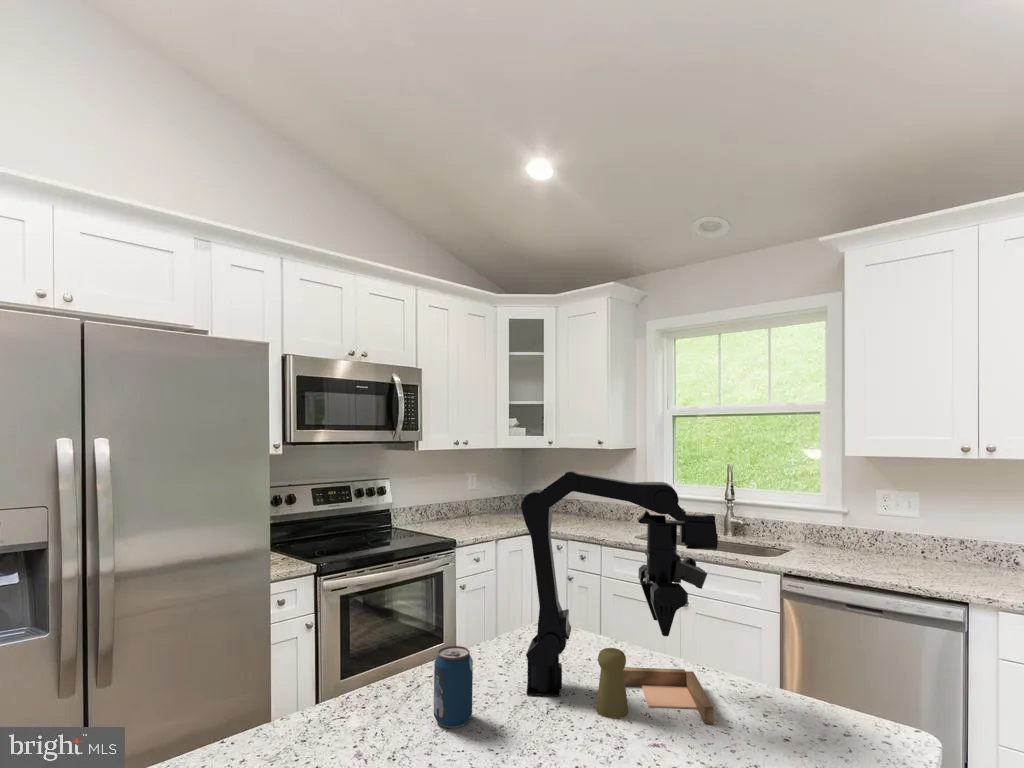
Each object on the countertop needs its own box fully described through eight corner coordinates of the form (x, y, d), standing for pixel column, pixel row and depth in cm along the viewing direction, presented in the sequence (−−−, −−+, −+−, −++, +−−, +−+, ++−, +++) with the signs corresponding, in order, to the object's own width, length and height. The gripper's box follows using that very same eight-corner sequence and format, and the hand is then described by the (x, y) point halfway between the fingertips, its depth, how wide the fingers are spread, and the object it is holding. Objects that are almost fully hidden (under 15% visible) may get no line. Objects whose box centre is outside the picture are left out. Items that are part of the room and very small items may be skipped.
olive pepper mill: (627, 704, 114) (626, 644, 115) (630, 719, 108) (629, 656, 109) (595, 702, 115) (595, 643, 116) (596, 717, 109) (596, 655, 110)
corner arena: (614, 720, 108) (614, 703, 108) (606, 681, 124) (606, 666, 125) (713, 724, 107) (713, 707, 107) (692, 684, 123) (692, 669, 123)
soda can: (477, 713, 110) (478, 646, 111) (464, 732, 103) (465, 660, 104) (442, 708, 112) (443, 643, 113) (427, 726, 105) (428, 656, 106)
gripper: (716, 559, 109) (716, 647, 108) (691, 539, 127) (690, 614, 126) (654, 556, 109) (653, 644, 108) (638, 537, 128) (637, 612, 127)
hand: (660, 627), depth 117 cm, fingers open, 9 cm apart
